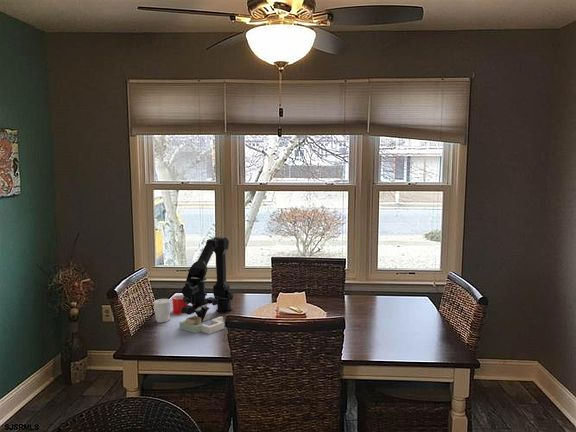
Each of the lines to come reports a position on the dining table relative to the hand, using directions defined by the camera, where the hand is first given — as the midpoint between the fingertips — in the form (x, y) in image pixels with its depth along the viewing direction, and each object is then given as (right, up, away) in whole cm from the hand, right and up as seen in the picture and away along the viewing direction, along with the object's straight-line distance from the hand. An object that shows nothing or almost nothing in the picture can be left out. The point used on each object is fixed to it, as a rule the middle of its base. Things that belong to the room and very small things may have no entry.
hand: (201, 322), depth 239 cm
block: (-3, -2, -3) cm, 5 cm away
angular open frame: (+3, -2, -1) cm, 3 cm away
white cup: (-21, -1, +10) cm, 23 cm away
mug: (-13, +1, +22) cm, 26 cm away
